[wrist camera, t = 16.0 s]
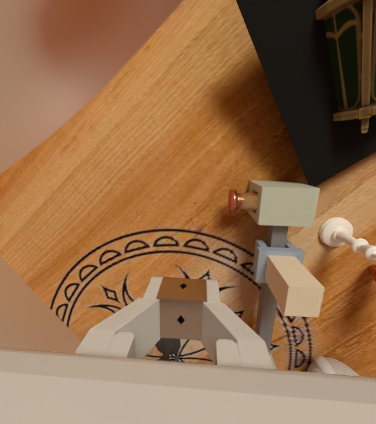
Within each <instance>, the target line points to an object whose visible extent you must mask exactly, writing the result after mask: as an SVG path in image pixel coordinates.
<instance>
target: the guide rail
mask: <svg viewBox="0 0 376 424" xmlns="http://www.w3.org/2000/svg"><path fill="white" fill-rule="evenodd" d="M319 192H320V188H317V187H313V186H310V185H306V184H302V183H298V182H288V181H249V192H248V193H258V201H257V210H247V212H248V214H249V215H250V216H251V217H252V218H253V219H254V221H255V222H256V223H257V224H258V225H268V232H267V240H266V245H267V247H279V248H285V244H286V238H287V231H288V226H303V227H313V225H314V220H315V214H316V209H317V203H318V198H319ZM276 305H277V301H276V299H275V297H274V295H273V294H272V292H271V290H270V288H269V286H268V284H267V283H261V289H260V297H259V305H258V313H257V321H256V330H255V333H256V334H257V335H258V336H259V337H261V338H262V339H263V340H264V341H265V344H266V347H267V350H268V353H269V356H270V359H271V362H272V364H273V367H274V369H275V370H277V369H276V366H275V363H274V360H273V358H272V355H271V352H270V345H271V339H272V332H273V325H274V318H275V312H276Z"/></svg>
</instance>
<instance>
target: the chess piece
mask: <svg viewBox="0 0 376 424" xmlns="http://www.w3.org/2000/svg"><path fill="white" fill-rule="evenodd" d="M352 234H353V228H352V225H351V224H350V223H349V222H348V221H347V220H345V219H343V218H338V217H336V218H331V219H329V220H327V221H326V222H325V223H324V224H323V225H322V226H321V228H320V231H319V237H320V239H321V241H322V242H323V243H324V244H326V245H328V246H331V247H339V246H342V245H344V244H346V243H347V244H349V245H351V248H352V250H353V251H354V252H356V253H363V255H364V256H365V258H366V259H368V260H370V261H375V260H376V246H371V245H369V244H368V242H367V241H366V240H365V239H357V240H356V239H355V238H354V237H352Z"/></svg>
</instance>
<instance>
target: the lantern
mask: <svg viewBox="0 0 376 424" xmlns="http://www.w3.org/2000/svg"><path fill="white" fill-rule="evenodd" d="M236 1H237V4H238V6H239V9H240V11H241V14H242V17H243V19H244V22H245V24H246V27H247V29H248V32H249V34H250V37H251V39H252V42H253V44H254V47H255V50H256V52H257V55H258V57H259V60H260V62H261V65H262V67H263V70H264V72H265V75H266V77H267V80H268V83H269V85H270V88H271V90H272V93H273V95H274V98H275V100H276V103H277V105H278V108H279V110H280V113H281V116H282V118H283V121H284V123H285V126H286V128H287V131H288V133H289V136H290V138H291V141H292V143H293V146H294V149H295V151H296V154H297V156H298V159H299V161H300V164H301V166H302V169H303V171H304V174H305V176H306V179H307V182H308V184H309V185H310V186H313V187H315V186H317V185H319V184H321V183H322V182H324V181H326V180H327V179H329V178H331V177H333V176H334V175H336V174H338V173H339V172H341V171H343V170H345V169H346V168H348V167H350V166H352V165H353V164H355V163H357V162H358V161H360V160H362V159H364V158H365V157H367V156H369V155H370V154H372V153H374V152H376V0H236Z"/></svg>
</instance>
